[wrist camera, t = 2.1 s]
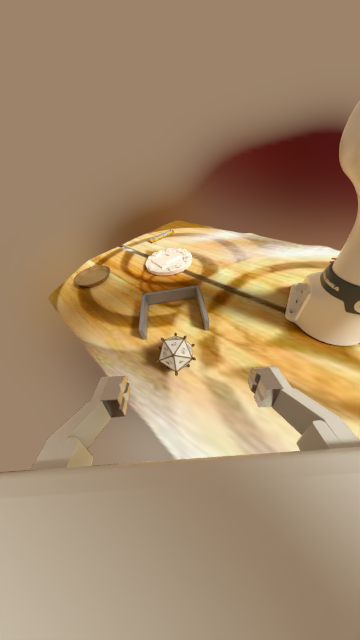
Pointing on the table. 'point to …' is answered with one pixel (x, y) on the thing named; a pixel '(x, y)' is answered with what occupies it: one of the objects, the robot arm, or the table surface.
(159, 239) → the candy bar
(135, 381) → the table surface
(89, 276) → the plant saucer
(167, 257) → the embossed medallion
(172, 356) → the game die
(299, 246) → the table surface
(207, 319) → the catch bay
